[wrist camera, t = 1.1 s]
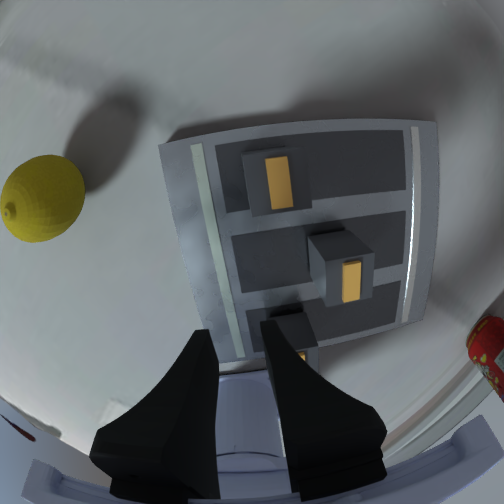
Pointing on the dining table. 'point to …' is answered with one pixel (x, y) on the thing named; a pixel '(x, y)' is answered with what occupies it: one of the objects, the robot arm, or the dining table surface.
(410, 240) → the panel
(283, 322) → the block
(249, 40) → the dining table surface
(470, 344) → the soda can
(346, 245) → the breaker
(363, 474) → the robot arm
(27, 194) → the lemon
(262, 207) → the breaker
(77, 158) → the dining table surface
